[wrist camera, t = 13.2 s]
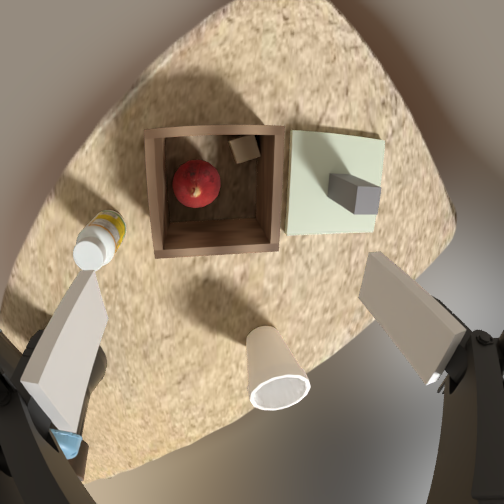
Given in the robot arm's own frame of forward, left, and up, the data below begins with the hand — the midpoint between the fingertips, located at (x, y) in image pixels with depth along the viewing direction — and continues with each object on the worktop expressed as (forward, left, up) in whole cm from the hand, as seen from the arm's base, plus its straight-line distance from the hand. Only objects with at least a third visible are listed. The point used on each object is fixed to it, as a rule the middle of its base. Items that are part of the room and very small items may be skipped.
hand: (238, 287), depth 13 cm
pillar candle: (-51, -75, -27) cm, 95 cm away
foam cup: (+8, -29, -27) cm, 40 cm away
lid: (+18, -1, -27) cm, 33 cm away
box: (0, 0, -27) cm, 27 cm away
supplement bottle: (-15, -6, -27) cm, 31 cm away
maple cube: (+4, +4, -27) cm, 27 cm away
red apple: (-2, 0, -27) cm, 27 cm away
